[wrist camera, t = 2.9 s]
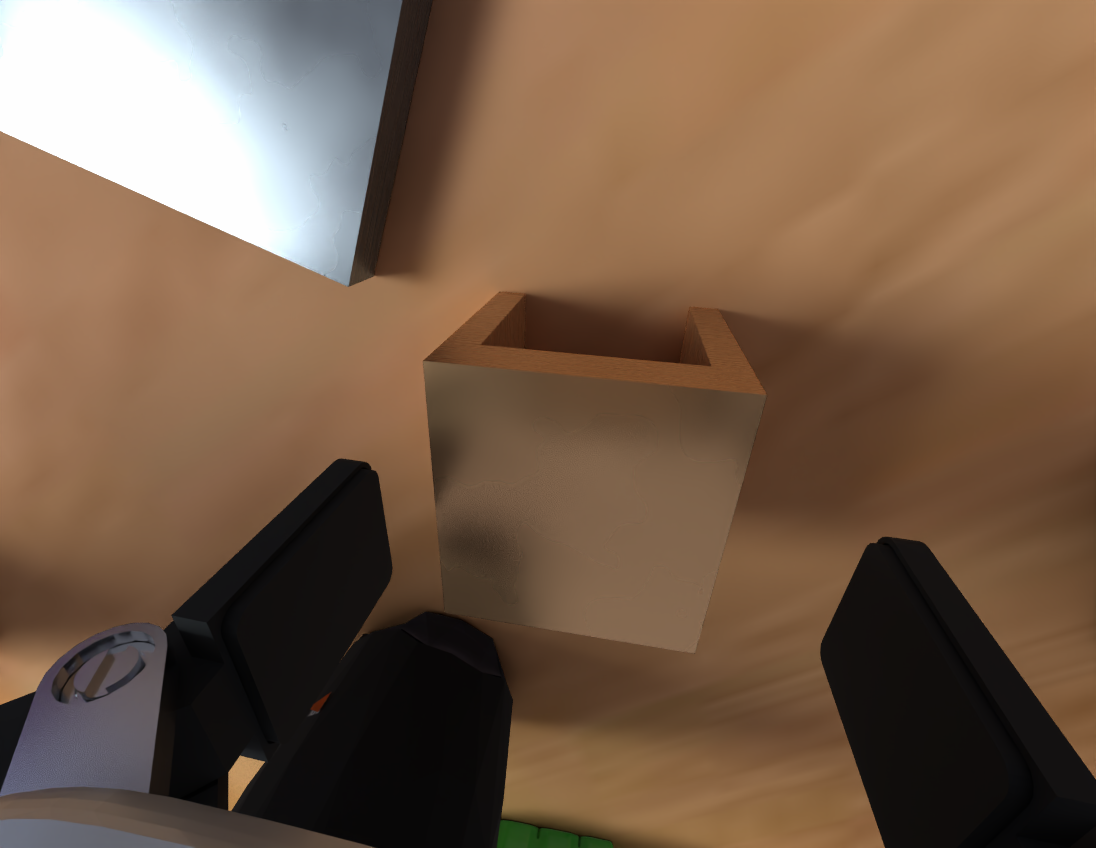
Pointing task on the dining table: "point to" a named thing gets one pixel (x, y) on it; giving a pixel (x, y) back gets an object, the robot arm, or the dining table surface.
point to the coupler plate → (227, 110)
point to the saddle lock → (587, 477)
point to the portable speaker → (398, 744)
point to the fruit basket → (543, 837)
